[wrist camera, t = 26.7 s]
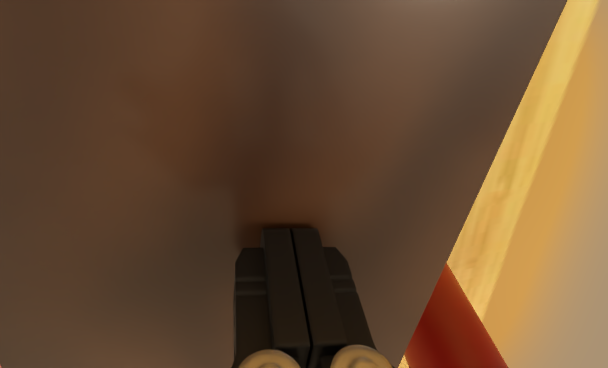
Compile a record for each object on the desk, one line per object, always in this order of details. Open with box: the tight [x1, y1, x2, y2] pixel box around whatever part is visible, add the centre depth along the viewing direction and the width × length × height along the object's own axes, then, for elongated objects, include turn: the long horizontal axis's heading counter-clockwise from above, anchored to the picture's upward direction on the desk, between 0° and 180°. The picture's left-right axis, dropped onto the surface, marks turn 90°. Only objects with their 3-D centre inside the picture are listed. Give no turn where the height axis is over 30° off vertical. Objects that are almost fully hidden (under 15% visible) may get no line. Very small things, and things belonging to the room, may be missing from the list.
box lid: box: [0, 0, 567, 368], centre depth 11 cm, size 14×16×1 cm
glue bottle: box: [404, 263, 508, 368], centre depth 21 cm, size 4×4×12 cm
